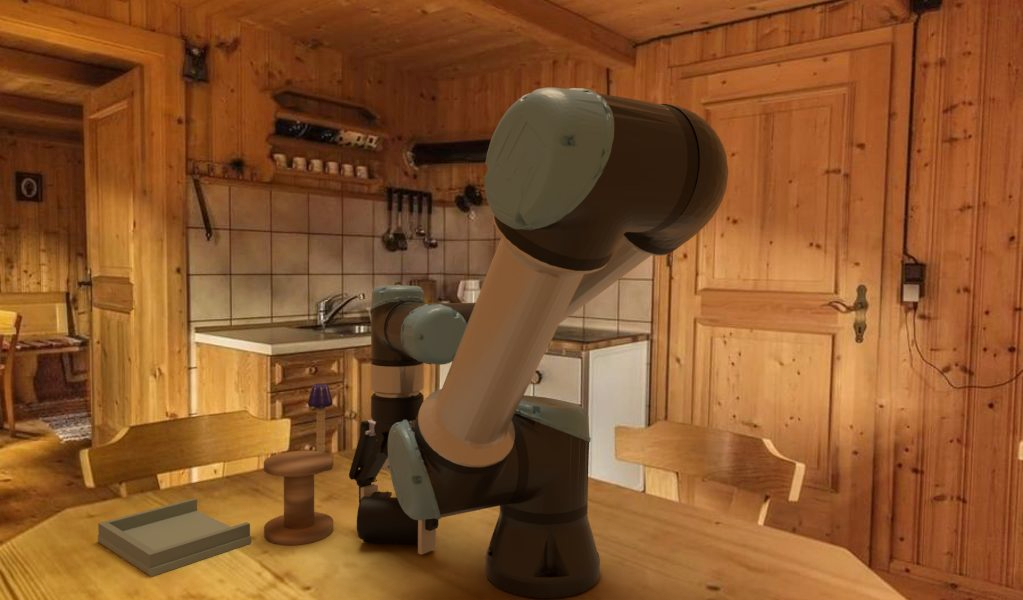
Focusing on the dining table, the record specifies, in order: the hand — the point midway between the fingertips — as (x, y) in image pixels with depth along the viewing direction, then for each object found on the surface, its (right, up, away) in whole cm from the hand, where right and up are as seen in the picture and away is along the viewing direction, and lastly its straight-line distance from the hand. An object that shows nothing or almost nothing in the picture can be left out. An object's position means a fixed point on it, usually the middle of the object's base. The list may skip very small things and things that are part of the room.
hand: (396, 539), depth 101 cm
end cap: (0, -1, 0) cm, 1 cm away
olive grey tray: (-32, 0, -1) cm, 32 cm away
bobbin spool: (-15, 0, +3) cm, 16 cm away
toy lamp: (-21, +2, +35) cm, 41 cm away
